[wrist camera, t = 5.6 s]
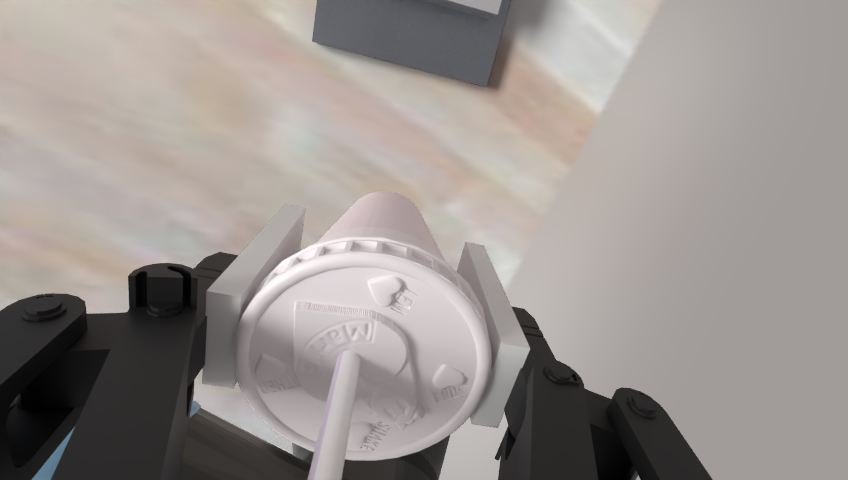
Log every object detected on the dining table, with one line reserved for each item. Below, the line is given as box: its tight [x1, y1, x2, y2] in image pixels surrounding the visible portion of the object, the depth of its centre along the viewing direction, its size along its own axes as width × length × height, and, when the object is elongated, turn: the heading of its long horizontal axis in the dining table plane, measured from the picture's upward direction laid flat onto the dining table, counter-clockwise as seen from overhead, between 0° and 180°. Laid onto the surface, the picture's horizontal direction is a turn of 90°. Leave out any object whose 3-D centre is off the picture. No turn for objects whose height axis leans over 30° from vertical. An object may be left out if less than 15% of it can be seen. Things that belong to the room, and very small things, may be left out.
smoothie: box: [233, 191, 492, 480], centre depth 12 cm, size 6×6×14 cm
